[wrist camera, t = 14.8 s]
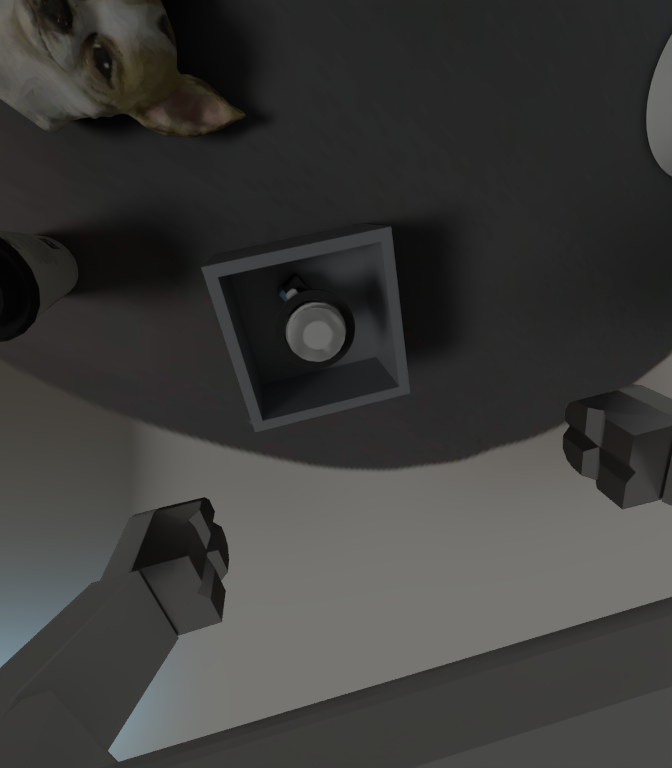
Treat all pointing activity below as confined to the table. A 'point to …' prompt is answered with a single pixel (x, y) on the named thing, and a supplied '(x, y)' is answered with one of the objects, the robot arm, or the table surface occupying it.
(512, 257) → the table surface
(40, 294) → the coffee cup
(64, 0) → the ceramic sculpture
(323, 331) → the push button
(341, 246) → the bin
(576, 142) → the table surface
